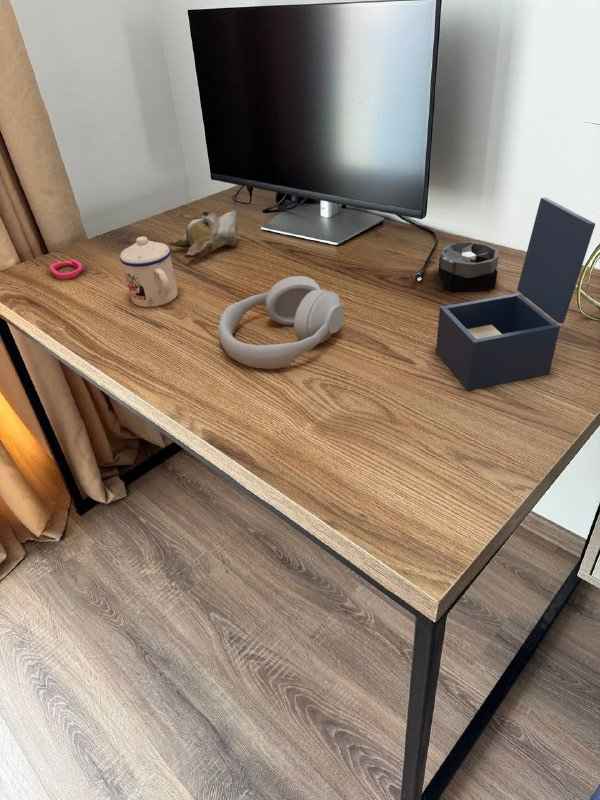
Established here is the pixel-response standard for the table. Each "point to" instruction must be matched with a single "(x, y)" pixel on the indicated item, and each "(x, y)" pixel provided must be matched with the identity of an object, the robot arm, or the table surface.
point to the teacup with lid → (149, 273)
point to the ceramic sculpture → (208, 234)
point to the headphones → (284, 322)
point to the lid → (554, 258)
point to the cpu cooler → (468, 266)
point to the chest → (496, 341)
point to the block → (484, 331)
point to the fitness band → (66, 275)
